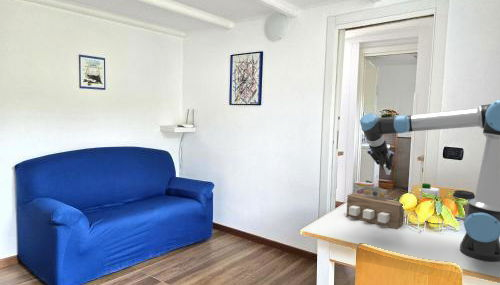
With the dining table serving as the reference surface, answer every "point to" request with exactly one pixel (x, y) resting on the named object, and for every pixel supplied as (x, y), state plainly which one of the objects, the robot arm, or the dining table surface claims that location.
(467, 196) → the coffee cup
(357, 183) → the candy bar box
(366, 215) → the button middle
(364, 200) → the console
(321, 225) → the dining table surface
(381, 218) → the button right
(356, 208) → the button left
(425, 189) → the milk carton
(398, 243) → the dining table surface
